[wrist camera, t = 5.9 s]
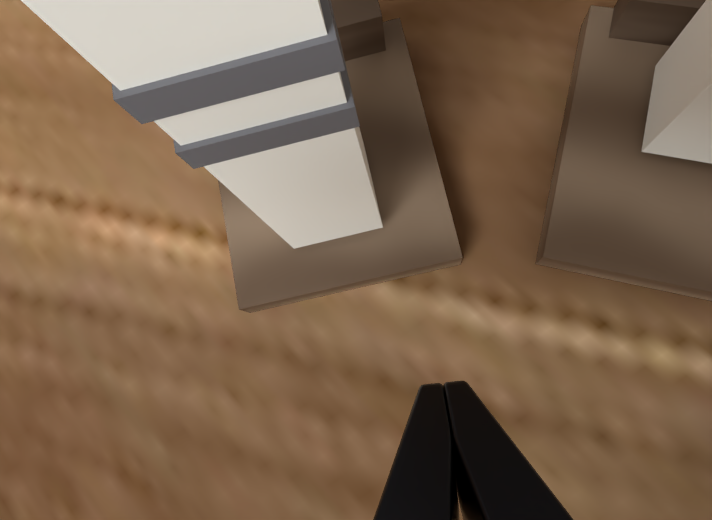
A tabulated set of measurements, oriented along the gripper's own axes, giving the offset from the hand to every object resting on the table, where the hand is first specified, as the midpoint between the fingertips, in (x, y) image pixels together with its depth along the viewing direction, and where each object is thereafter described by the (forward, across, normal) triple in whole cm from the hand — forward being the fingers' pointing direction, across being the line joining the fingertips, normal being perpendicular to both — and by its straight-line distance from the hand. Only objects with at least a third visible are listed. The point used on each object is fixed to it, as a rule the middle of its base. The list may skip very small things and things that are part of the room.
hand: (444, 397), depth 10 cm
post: (+14, +3, +2) cm, 15 cm away
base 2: (+16, -12, +4) cm, 20 cm away
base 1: (+17, +4, +2) cm, 17 cm away
